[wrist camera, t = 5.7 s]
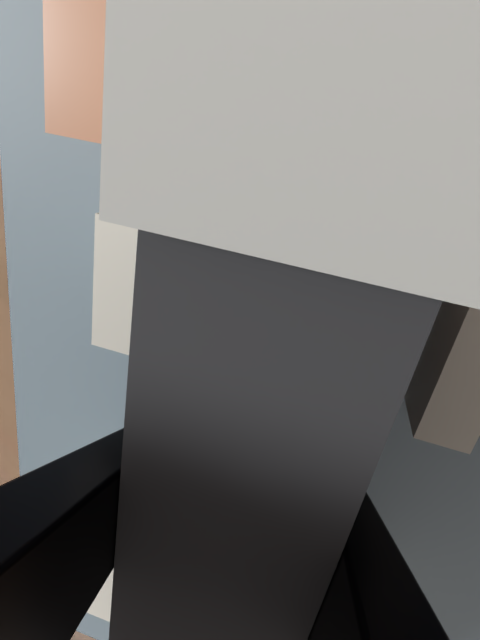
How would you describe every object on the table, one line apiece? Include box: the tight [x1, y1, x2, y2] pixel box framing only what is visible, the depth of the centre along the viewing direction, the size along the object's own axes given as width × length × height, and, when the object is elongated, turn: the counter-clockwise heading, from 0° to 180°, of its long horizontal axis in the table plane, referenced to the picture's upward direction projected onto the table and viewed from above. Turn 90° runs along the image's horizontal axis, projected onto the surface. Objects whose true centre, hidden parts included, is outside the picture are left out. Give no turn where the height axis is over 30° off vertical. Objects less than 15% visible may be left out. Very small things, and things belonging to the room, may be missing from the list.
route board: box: [0, 0, 480, 640], centre depth 9 cm, size 22×14×3 cm, turn 169°
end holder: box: [42, 0, 106, 144], centre depth 5 cm, size 3×7×3 cm, turn 80°
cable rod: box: [99, 0, 480, 640], centre depth 7 cm, size 12×3×3 cm, turn 169°
